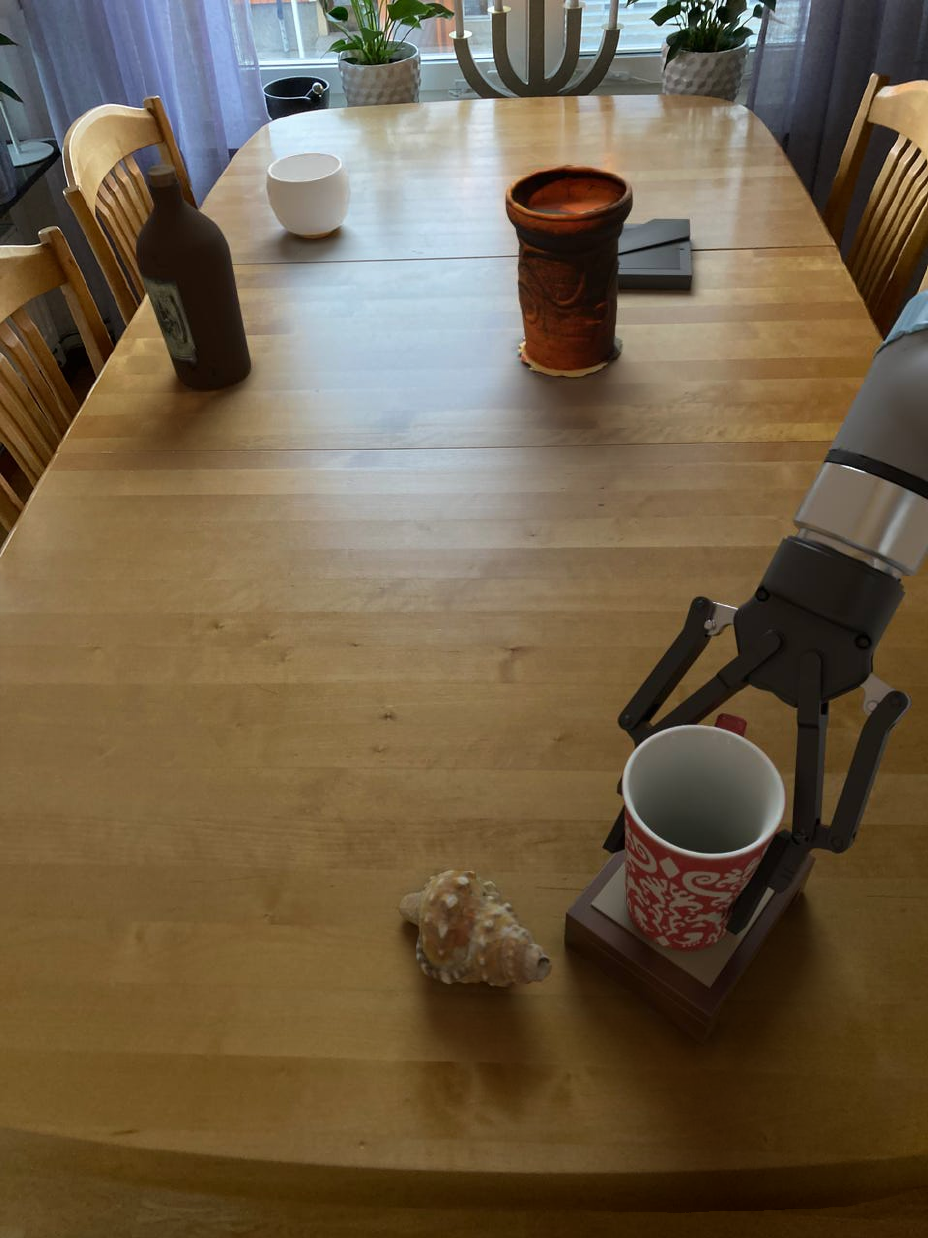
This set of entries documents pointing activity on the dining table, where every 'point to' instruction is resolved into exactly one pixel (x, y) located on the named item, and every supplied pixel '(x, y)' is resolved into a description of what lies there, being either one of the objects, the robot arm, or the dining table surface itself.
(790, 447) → the dining table surface
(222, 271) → the olive oil
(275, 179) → the cup
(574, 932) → the brown rectangular block
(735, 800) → the mug
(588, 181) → the vessel
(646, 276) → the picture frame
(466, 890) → the seashell
